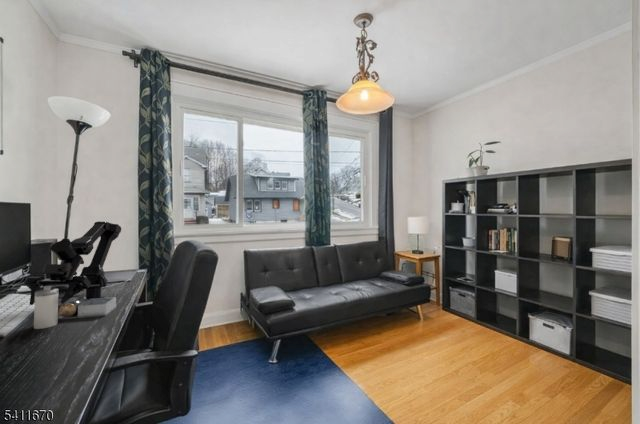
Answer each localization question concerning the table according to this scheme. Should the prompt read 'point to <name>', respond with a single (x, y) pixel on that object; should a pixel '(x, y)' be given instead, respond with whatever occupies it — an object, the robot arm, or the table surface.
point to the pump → (46, 308)
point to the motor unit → (87, 307)
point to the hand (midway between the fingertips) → (46, 303)
